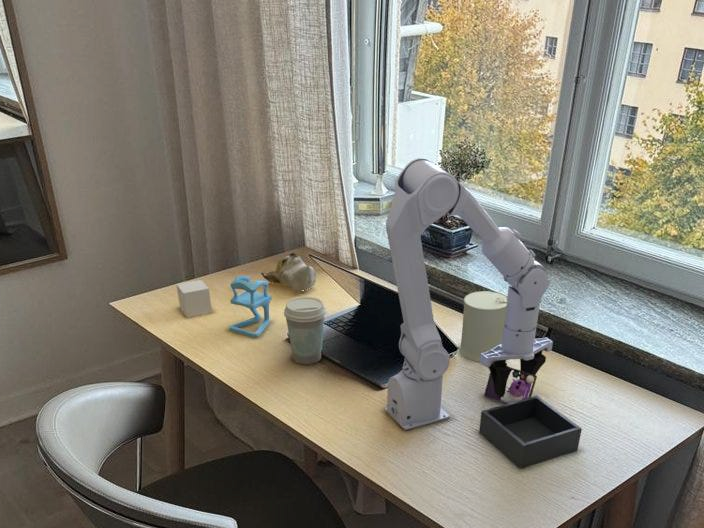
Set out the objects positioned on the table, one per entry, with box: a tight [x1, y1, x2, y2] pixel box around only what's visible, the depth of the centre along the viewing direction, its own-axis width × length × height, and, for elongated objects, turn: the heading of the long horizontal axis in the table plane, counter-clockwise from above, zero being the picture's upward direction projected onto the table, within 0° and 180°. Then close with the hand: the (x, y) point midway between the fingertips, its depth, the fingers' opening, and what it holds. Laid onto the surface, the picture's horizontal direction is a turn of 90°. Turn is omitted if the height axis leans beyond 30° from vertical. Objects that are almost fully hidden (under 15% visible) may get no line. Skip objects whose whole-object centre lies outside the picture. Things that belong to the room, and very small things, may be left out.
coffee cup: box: [283, 296, 327, 365], centre depth 159 cm, size 8×8×12 cm
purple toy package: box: [483, 366, 538, 404], centre depth 146 cm, size 7×5×9 cm
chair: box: [228, 275, 273, 339], centre depth 171 cm, size 8×8×12 cm
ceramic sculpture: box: [260, 252, 317, 294], centre depth 191 cm, size 11×9×15 cm
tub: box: [478, 395, 582, 469], centre depth 134 cm, size 12×12×5 cm
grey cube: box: [176, 279, 213, 319], centre depth 181 cm, size 6×6×6 cm
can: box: [459, 290, 507, 362], centre depth 160 cm, size 9×9×12 cm
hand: (511, 391), depth 147 cm, fingers open, 5 cm apart
